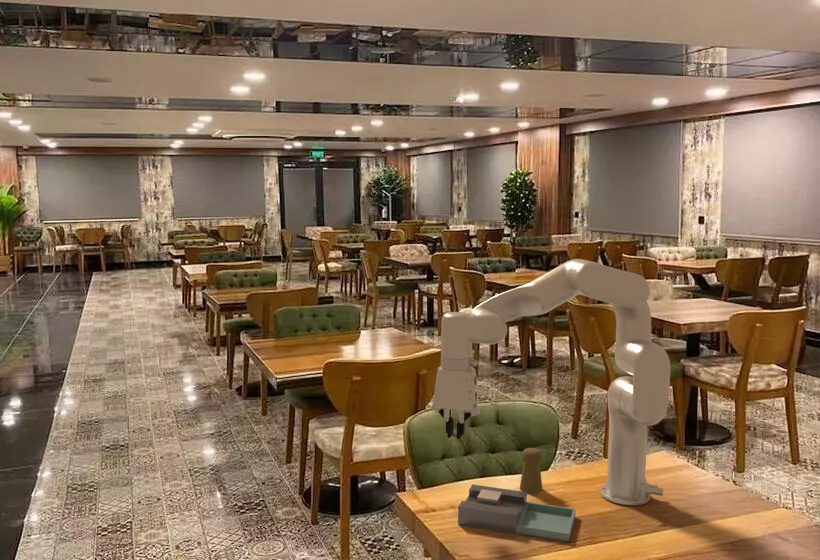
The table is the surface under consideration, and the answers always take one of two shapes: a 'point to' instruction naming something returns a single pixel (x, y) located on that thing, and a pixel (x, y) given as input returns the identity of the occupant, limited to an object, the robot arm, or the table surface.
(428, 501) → the table surface
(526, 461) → the brown pepper mill
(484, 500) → the tan square block
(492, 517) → the slotted ledge
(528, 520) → the tray
